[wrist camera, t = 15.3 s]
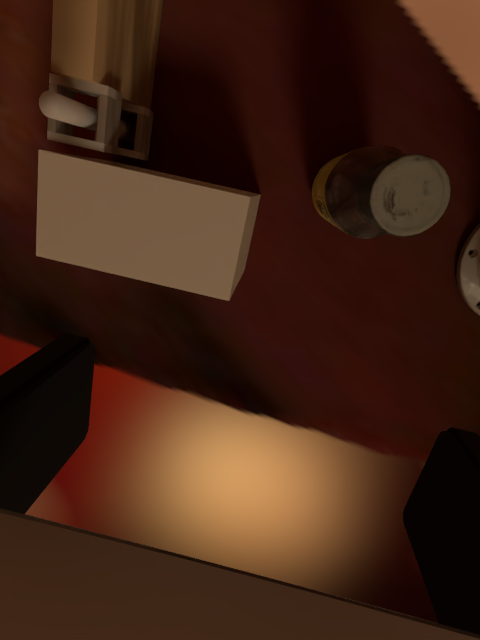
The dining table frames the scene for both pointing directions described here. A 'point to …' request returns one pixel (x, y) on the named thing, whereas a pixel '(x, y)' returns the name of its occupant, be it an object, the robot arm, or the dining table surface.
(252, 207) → the white box
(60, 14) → the door
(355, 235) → the sauce bottle
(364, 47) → the dining table surface
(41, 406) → the robot arm
